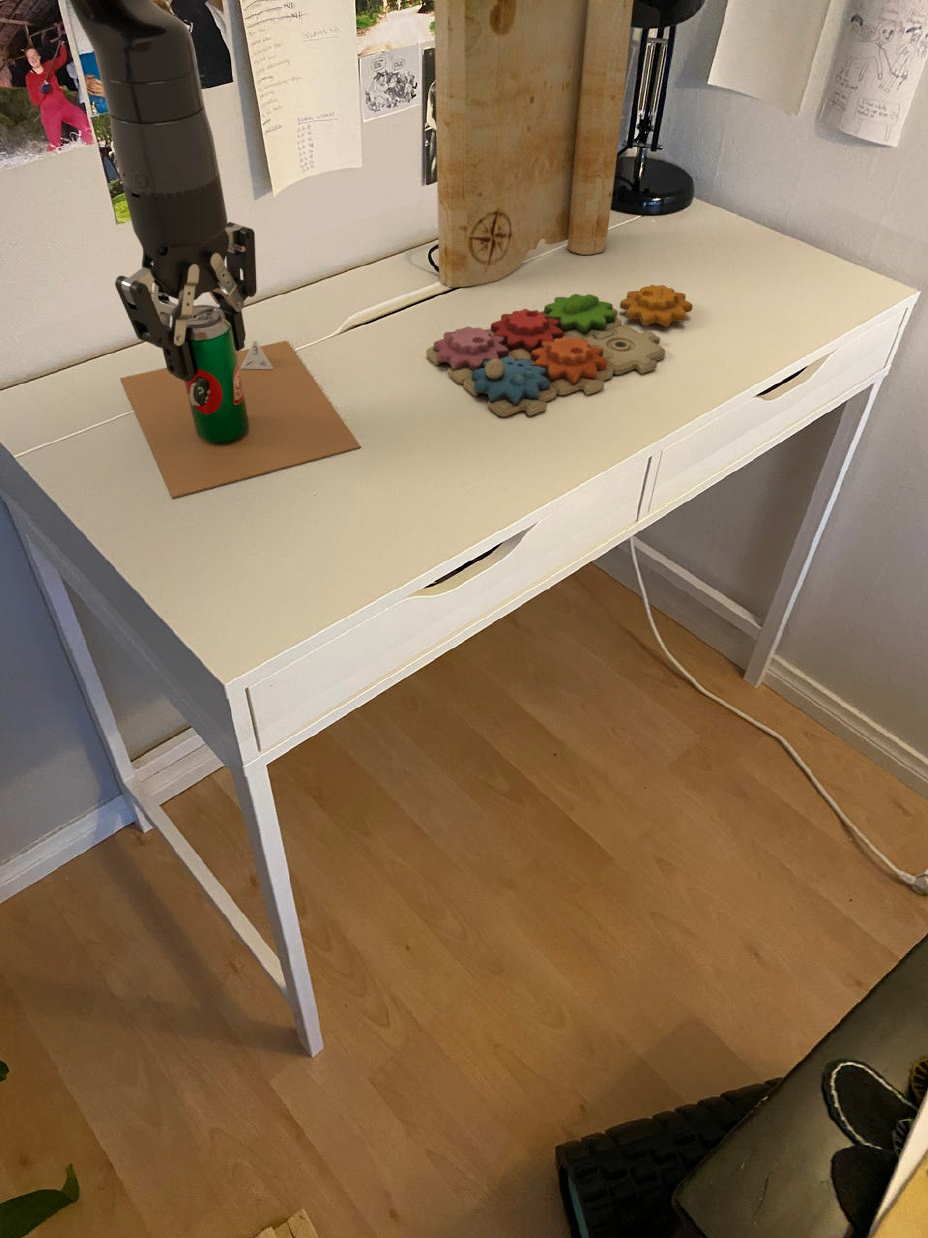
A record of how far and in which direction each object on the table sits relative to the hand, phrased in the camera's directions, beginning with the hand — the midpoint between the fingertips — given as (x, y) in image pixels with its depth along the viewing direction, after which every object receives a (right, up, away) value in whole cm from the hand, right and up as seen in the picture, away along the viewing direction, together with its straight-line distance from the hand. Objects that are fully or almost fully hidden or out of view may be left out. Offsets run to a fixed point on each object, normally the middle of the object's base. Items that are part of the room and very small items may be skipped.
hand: (209, 361), depth 87 cm
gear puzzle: (+36, +6, +17) cm, 40 cm away
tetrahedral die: (+2, +3, +14) cm, 14 cm away
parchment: (+30, +21, +32) cm, 49 cm away
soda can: (0, -5, +5) cm, 8 cm away
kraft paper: (+1, -3, +8) cm, 8 cm away
